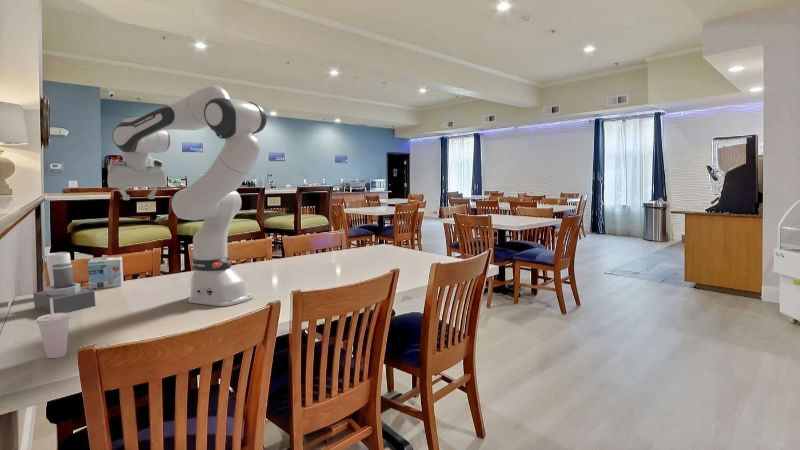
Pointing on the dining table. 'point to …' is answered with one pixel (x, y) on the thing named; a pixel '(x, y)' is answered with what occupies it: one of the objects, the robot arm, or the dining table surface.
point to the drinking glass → (56, 262)
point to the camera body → (64, 299)
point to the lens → (62, 275)
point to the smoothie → (54, 332)
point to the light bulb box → (105, 272)
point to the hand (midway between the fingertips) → (139, 199)
